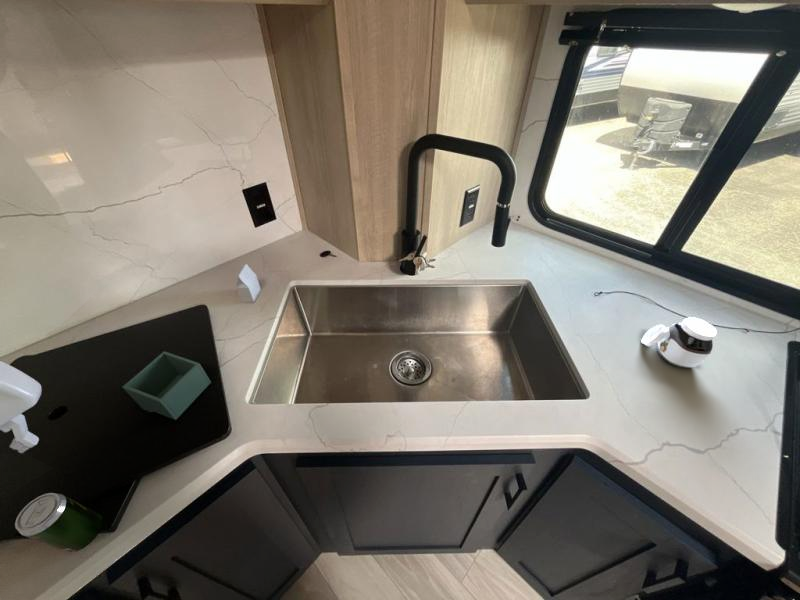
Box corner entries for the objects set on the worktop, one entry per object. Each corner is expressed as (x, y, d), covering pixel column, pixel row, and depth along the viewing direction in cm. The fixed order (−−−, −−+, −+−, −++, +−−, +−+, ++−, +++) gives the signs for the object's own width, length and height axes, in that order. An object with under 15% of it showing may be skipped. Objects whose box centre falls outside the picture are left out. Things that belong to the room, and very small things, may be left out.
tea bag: (260, 289, 105) (252, 263, 98) (254, 302, 100) (244, 276, 93) (249, 288, 105) (240, 263, 98) (242, 302, 99) (231, 276, 93)
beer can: (94, 553, 52) (42, 533, 45) (59, 554, 52) (1, 534, 44) (115, 515, 56) (71, 490, 49) (83, 516, 56) (33, 491, 48)
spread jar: (697, 374, 83) (729, 344, 75) (650, 366, 84) (676, 336, 77) (677, 340, 92) (703, 310, 84) (634, 333, 93) (656, 303, 86)
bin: (178, 423, 69) (160, 401, 64) (142, 409, 72) (121, 387, 66) (213, 385, 77) (199, 363, 71) (179, 373, 79) (164, 351, 74)
